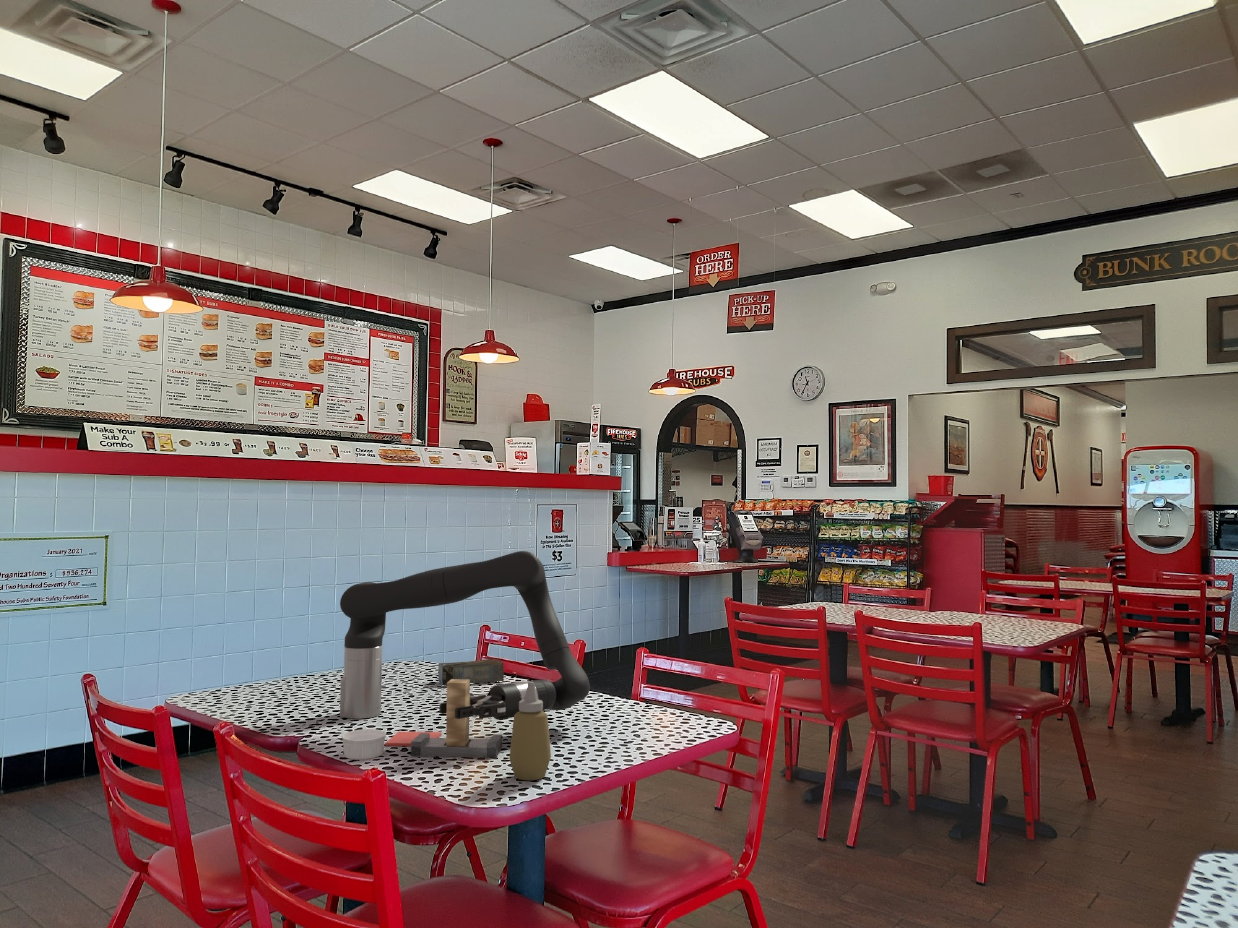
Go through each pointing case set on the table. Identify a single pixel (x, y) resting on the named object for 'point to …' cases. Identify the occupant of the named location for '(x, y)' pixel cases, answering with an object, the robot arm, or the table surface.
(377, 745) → the ramekin
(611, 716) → the table surface
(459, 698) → the oak peg
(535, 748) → the squeeze bottle
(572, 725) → the table surface
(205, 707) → the table surface
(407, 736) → the red coaster
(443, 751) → the grey piece
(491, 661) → the beverage carton
